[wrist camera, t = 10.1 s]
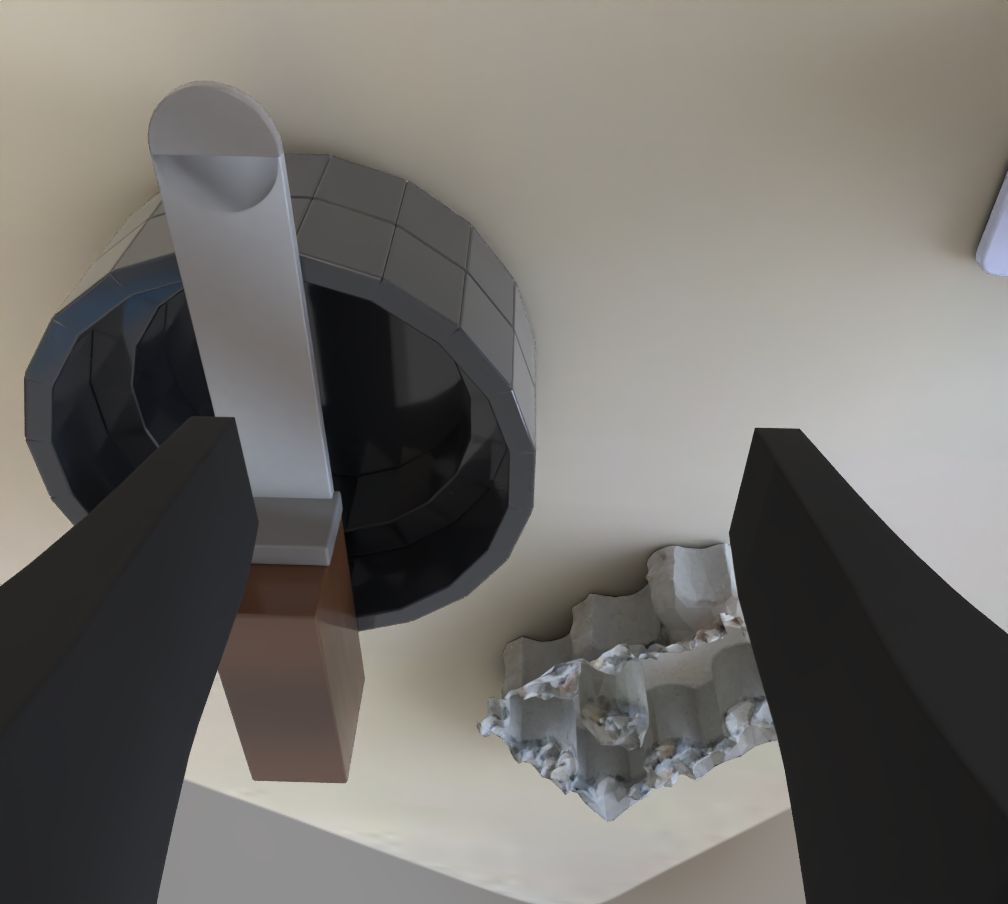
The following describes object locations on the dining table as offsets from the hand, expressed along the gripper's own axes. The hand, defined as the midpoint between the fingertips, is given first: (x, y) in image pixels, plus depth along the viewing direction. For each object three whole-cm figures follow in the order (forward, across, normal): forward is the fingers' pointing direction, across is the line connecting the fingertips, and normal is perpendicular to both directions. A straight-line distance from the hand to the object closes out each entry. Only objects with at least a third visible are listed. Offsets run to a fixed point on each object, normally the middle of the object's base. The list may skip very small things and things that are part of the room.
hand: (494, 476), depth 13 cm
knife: (+5, +5, +5) cm, 9 cm away
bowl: (+10, +5, +5) cm, 12 cm away
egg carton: (+11, -5, +17) cm, 21 cm away
